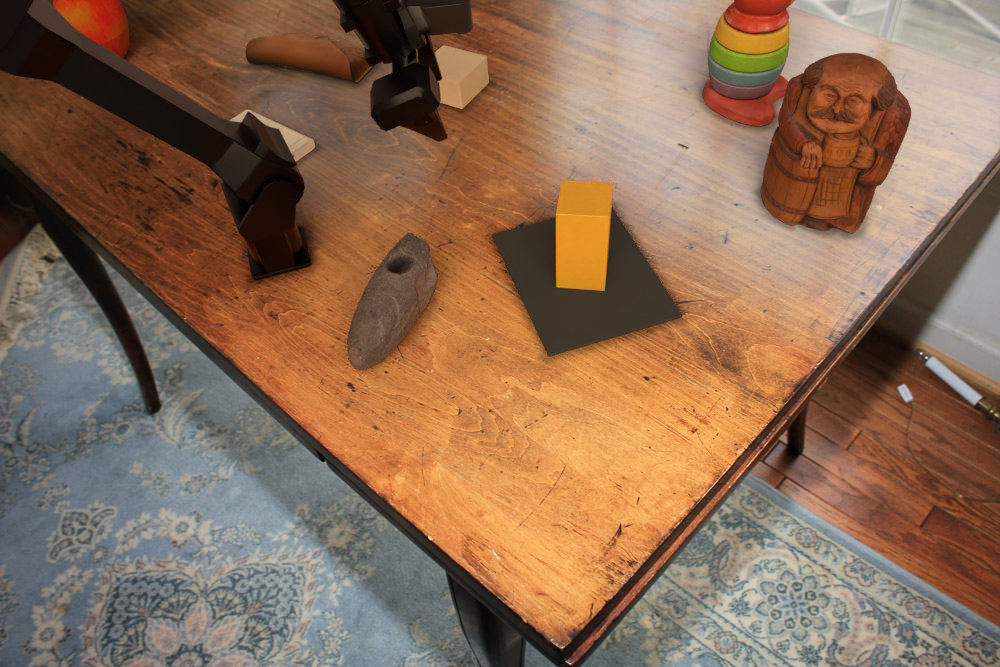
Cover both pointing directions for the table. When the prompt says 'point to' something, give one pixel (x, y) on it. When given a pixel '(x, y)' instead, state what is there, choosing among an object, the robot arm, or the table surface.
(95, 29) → the red orange mango
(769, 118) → the stacking bear
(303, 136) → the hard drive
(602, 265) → the mustard block
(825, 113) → the wooden figurine
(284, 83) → the table surface
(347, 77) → the sunglasses case
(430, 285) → the perforated stone tool
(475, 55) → the tan block
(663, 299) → the slate mat
